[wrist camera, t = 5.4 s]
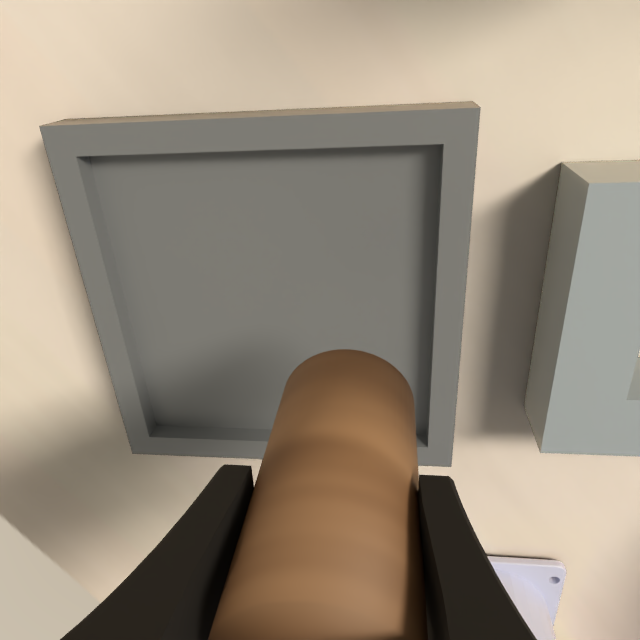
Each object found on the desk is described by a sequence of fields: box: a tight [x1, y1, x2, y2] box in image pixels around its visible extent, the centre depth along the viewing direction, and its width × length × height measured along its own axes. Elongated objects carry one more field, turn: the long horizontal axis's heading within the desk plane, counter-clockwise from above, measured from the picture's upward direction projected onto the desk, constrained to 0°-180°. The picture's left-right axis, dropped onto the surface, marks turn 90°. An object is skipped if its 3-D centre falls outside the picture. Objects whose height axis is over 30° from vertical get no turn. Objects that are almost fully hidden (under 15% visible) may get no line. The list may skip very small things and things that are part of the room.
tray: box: [39, 101, 480, 467], centre depth 21 cm, size 14×14×2 cm
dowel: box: [208, 349, 428, 640], centre depth 12 cm, size 4×4×7 cm
